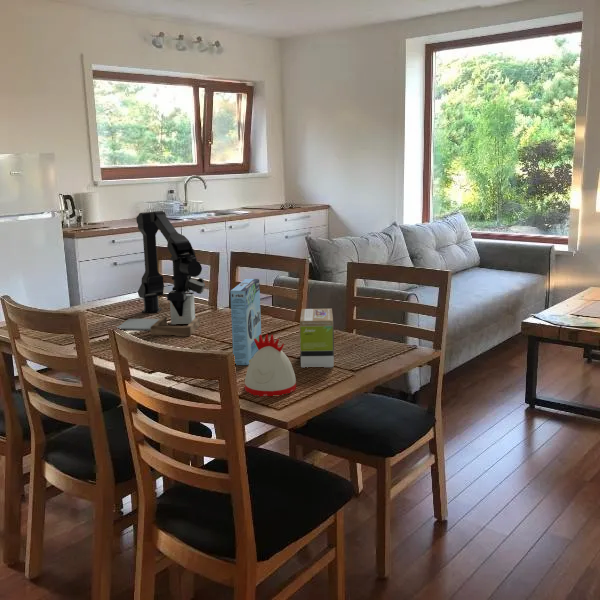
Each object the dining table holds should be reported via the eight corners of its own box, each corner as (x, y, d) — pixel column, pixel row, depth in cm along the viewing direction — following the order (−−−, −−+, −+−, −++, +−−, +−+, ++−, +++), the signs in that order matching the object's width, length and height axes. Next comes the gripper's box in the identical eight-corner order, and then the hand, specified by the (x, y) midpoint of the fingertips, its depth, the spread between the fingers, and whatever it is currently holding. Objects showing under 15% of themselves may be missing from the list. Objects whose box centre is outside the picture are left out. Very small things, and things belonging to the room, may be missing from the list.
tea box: (301, 353, 211) (301, 307, 208) (333, 353, 211) (333, 307, 208) (300, 368, 197) (299, 319, 194) (334, 368, 196) (334, 319, 193)
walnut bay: (163, 324, 247) (162, 316, 247) (200, 325, 246) (199, 317, 245) (150, 335, 233) (150, 327, 233) (190, 335, 232) (189, 327, 231)
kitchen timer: (255, 377, 189) (254, 326, 186) (302, 381, 185) (301, 329, 182) (237, 394, 176) (235, 339, 173) (286, 399, 172) (285, 343, 169)
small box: (195, 321, 252) (194, 294, 250) (191, 325, 246) (190, 297, 244) (174, 321, 253) (173, 293, 250) (170, 324, 247) (169, 296, 245)
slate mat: (129, 320, 255) (129, 318, 254) (165, 320, 253) (165, 319, 253) (116, 329, 241) (116, 328, 241) (153, 330, 240) (153, 328, 240)
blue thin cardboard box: (248, 366, 199) (246, 291, 194) (231, 365, 200) (229, 290, 195) (262, 347, 218) (260, 278, 213) (247, 346, 219) (245, 278, 214)
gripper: (196, 278, 236) (198, 320, 239) (208, 268, 254) (209, 308, 257) (165, 277, 237) (167, 320, 240) (179, 268, 255) (181, 308, 258)
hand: (182, 314), depth 249 cm, fingers closed on small box, 6 cm apart
